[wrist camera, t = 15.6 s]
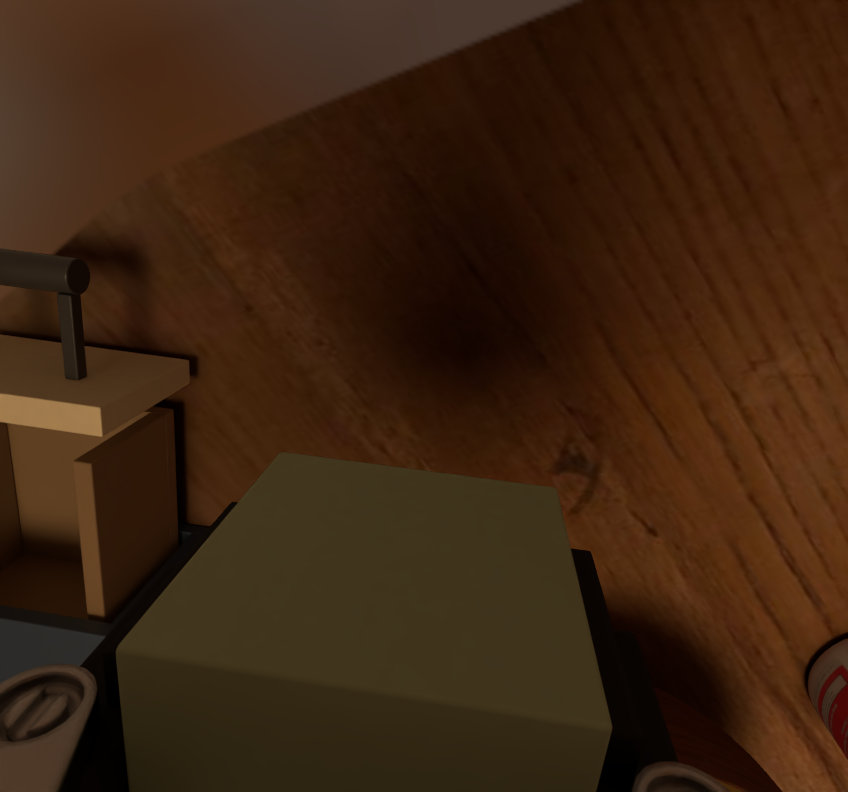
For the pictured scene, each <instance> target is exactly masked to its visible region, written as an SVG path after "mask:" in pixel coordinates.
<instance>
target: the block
mask: <svg viewBox="0 0 848 792" xmlns="http://www.w3.org/2000/svg"><path fill="white" fill-rule="evenodd" d="M116 662H117V672H118V682H119V693H120V703H121V713H122V724H123V734H124V745H125V755H126V765H127V776H128V786H129V792H596V790H597V786H598V782H599V778H600V774H601V771H602V767H603V763H604V759H605V755H606V751H607V747H608V743H609V739H610V735H611V732H612V724H611V719H610V715H609V711H608V706H607V702H606V698H605V694H604V689H603V685H602V681H601V676H600V672H599V668H598V664H597V659H596V655H595V651H594V646H593V642H592V638H591V634H590V629H589V625H588V621H587V616H586V612H585V608H584V604H583V599H582V595H581V591H580V586H579V582H578V578H577V574H576V569H575V565H574V561H573V556H572V552H571V548H570V544H569V539H568V535H567V531H566V526H565V522H564V518H563V514H562V509H561V505H560V501H559V496H558V492H557V489H556V488H553V487H546V486H538V485H530V484H523V483H515V482H507V481H500V480H492V479H485V478H477V477H469V476H462V475H454V474H446V473H439V472H431V471H423V470H416V469H408V468H401V467H393V466H385V465H378V464H370V463H362V462H355V461H347V460H340V459H332V458H324V457H317V456H309V455H301V454H294V453H286V452H281V453H279V454H278V455H277V457H276V458H275V459H274V460H273V461H272V463H271V464H270V465H269V466H268V467H267V469H266V470H265V471H264V472H263V473H262V475H261V476H260V477H259V478H258V479H257V480H256V482H255V483H254V484H253V485H252V486H251V488H250V489H249V490H248V491H247V492H246V494H245V495H244V496H243V497H242V498H241V500H240V501H239V502H238V503H237V504H236V506H235V507H234V508H233V509H232V510H231V511H230V513H229V514H228V515H227V516H226V517H225V519H224V520H223V521H222V522H221V523H220V525H219V526H218V527H217V528H216V529H215V531H214V532H213V533H212V534H211V535H210V537H209V538H208V539H207V540H206V541H205V542H204V544H203V545H202V546H201V547H200V548H199V550H198V551H197V552H196V553H195V554H194V556H193V557H192V558H191V559H190V560H189V562H188V563H187V564H186V565H185V566H184V567H183V569H182V570H181V571H180V572H179V573H178V575H177V576H176V577H175V578H174V579H173V581H172V582H171V583H170V584H169V585H168V587H167V588H166V589H165V590H164V591H163V593H162V594H161V595H160V596H159V597H158V598H157V600H156V601H155V602H154V603H153V604H152V606H151V607H150V608H149V609H148V610H147V612H146V613H145V614H144V615H143V616H142V618H141V619H140V620H139V621H138V622H137V624H136V625H135V626H134V627H133V628H132V629H131V631H130V632H129V633H128V634H127V635H126V637H125V638H124V639H123V640H122V641H121V643H120V644H119V645H118V647H117V649H116Z"/></svg>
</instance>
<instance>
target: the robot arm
mask: <svg viewBox="0 0 848 792" xmlns="http://www.w3.org/2000/svg"><path fill="white" fill-rule="evenodd" d="M237 503H238V502H232V503H231V504H230V505H229V506H228V507H227V508H226V509H225V510H224V511H223V513H222V514H221V515H220V516H219V517H218V518H217V520H216V521H215V522H214V523H213V524H212V525H211V527H210V528H209V529H208V530H207V531H206V532H205V533H204V535H203V536H202V537H201V538H200V539H199V540H198V542H197V543H196V544H195V545H194V546H193V547H192V549H191V550H190V551H189V552H188V553H187V554H186V556H185V557H184V558H183V559H182V560H181V561H180V562H179V564H178V565H171V566H169V567H168V568H167V569H166V570H165V571H163V573H162V574H161V575H160V576H159V577H158V578H157V579H156V581H155V582H154V583H153V584H152V585H151V586H150V587H149V588H148V590H147V591H146V592H145V593H144V594H143V595H142V596H141V598H140V599H139V600H138V601H137V602H136V603H135V604H134V605H133V607H132V608H131V609H130V610H129V611H128V612H127V613H126V614H125V616H124V617H123V618H122V619H121V620H120V621H119V622H118V624H117V625H116V626H115V627H114V628H113V629H112V630H111V631H110V633H109V634H108V635H107V636H106V637H105V638H104V639H103V640H102V642H101V643H100V644H99V645H98V646H97V647H96V648H95V650H94V651H93V652H92V653H91V654H90V655H89V656H88V657H87V659H86V660H85V661H84V662H83V663H82V664H81V665H80V666H77V665H74V664H59V663H57V664H51V665H44V666H39V667H36V668H33V669H30V670H27V671H24V672H21V673H19V674H17V675H15V676H13V677H11V678H9V679H8V680H6V681H4V682H2V683H1V684H0V792H129V786H128V776H127V765H126V755H125V745H124V734H123V724H122V713H121V703H120V693H119V682H118V672H117V662H116V649H117V647H118V645H119V644H120V643H121V641H122V640H123V639H124V638H125V637H126V635H127V634H128V633H129V632H130V631H131V629H132V628H133V627H134V626H135V625H136V624H137V622H138V621H139V620H140V619H141V618H142V616H143V615H144V614H145V613H146V612H147V610H148V609H149V608H150V607H151V606H152V604H153V603H154V602H155V601H156V600H157V598H158V597H159V596H160V595H161V594H162V593H163V591H164V590H165V589H166V588H167V587H168V585H169V584H170V583H171V582H172V581H173V579H174V578H175V577H176V576H177V575H178V573H179V572H180V571H181V570H182V569H183V567H184V566H185V565H186V564H187V563H188V562H189V560H190V559H191V558H192V557H193V556H194V554H195V553H196V552H197V551H198V550H199V548H200V547H201V546H202V545H203V544H204V542H205V541H206V540H207V539H208V538H209V537H210V535H211V534H212V533H213V532H214V531H215V529H216V528H217V527H218V526H219V525H220V523H221V522H222V521H223V520H224V519H225V517H226V516H227V515H228V514H229V513H230V511H231V510H232V509H233V508H234V507H235V506H236V504H237ZM571 552H572V556H573V561H574V565H575V569H576V574H577V578H578V582H579V586H580V591H581V595H582V599H583V604H584V608H585V612H586V616H587V621H588V625H589V629H590V634H591V638H592V642H593V646H594V651H595V655H596V659H597V664H598V668H599V672H600V676H601V681H602V685H603V689H604V694H605V698H606V702H607V706H608V711H609V715H610V719H611V724H612V732H611V735H610V739H609V743H608V747H607V751H606V755H605V759H604V763H603V767H602V771H601V774H600V778H599V782H598V786H597V790H596V792H730V791H729V790H728V789H727V788H726V787H725V786H723V785H722V784H721V783H719V782H718V781H717V780H716V779H714V778H713V777H712V776H710V775H708V774H706V773H704V772H702V771H700V770H698V769H697V768H695V767H693V766H689V765H685V764H682V763H679V762H678V759H677V756H676V753H675V750H674V747H673V744H672V741H671V738H670V735H669V732H668V729H667V726H666V723H665V720H664V717H663V714H662V711H661V708H660V705H659V702H658V699H657V696H656V693H655V690H654V687H653V684H652V681H651V678H650V675H649V672H648V669H647V666H646V663H645V660H644V657H643V655H642V652H641V649H640V646H639V643H638V640H637V638H636V636H635V634H634V633H632V632H630V631H624V630H617V629H613V627H612V624H611V620H610V617H609V613H608V610H607V606H606V603H605V599H604V596H603V592H602V589H601V585H600V582H599V578H598V575H597V571H596V568H595V564H594V561H593V558H592V554H591V552H590V551H586V550H578V549H571Z"/></svg>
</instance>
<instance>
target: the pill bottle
mask: <svg viewBox="0 0 848 792" xmlns="http://www.w3.org/2000/svg"><path fill="white" fill-rule="evenodd" d="M808 692H809V696H810V699H811V702H812V704H813V706H814V708H815V709H816V711H817V713H818V714H819V716H820V718H821V719H822V721H823V722H824V724H825V725H826V727H827V728H828V730H829V731H830V733H831V735H832V736H833V738H834V739H835V741H836V742H837V744H838V745H839V747H840V748H841V750H842V752H843V753H844V755H845V756H846V758H847V759H848V638H847V639H845V640H842V641H840V642H839V643H837V644H835V645H833V646H832V647H830V648H829V649H828V650H826V651H825V652H824V653H823V654H822V655H821V656H820V657H819V658H818V659H817V660H816V662H815V663H814V665H813V666H812V668H811V671H810V674H809V678H808Z"/></svg>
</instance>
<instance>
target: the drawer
mask: <svg viewBox="0 0 848 792" xmlns="http://www.w3.org/2000/svg"><path fill="white" fill-rule="evenodd" d="M89 282H90V272H89V268H88V266H87V264H86V263H85V262H84V261H83V260H81V259H79V258H72V257H64V256H56V255H48V254H39V253H32V252H24V251H16V250H7V249H0V285H5V286H13V287H20V288H28V289H36V290H43V291H51V292H59V293H58V294H57V302H58V312H59V322H60V332H61V342H62V343H59V342H51V341H44V340H37V339H29V338H22V337H15V336H7V335H0V605H5V606H11V607H17V608H23V609H29V610H35V611H41V612H47V613H53V614H59V615H65V616H70V617H76V618H82V619H88V620H94V621H100V622H106V623H112V622H113V621H114V620H115V619H116V617H117V616H118V615H119V614H120V613H121V612H122V611H123V610H124V609H125V607H126V606H127V605H128V604H129V603H130V602H131V601H132V600H133V598H134V597H135V596H136V595H137V594H138V593H139V592H140V591H141V590H142V588H143V587H144V586H145V585H146V584H147V583H148V582H149V581H150V580H151V578H152V577H153V576H154V575H155V574H156V573H157V572H158V571H159V569H160V568H161V567H162V566H163V565H164V564H165V563H166V562H167V561H168V559H169V558H170V557H171V556H172V555H173V554H174V553H175V552H176V550H177V549H178V548H179V543H178V516H177V488H176V461H175V434H174V410H173V409H168V408H161V407H154V405H155V404H157V403H159V402H160V401H162V400H163V399H165V398H167V397H168V396H170V395H172V394H173V393H175V392H177V391H178V390H180V389H182V388H183V387H185V386H186V385H188V384H189V383H190V373H189V360H184V359H177V358H169V357H162V356H155V355H147V354H140V353H132V352H125V351H118V350H110V349H103V348H96V347H88V346H85V345H84V333H83V322H82V310H81V298H80V294H82V293H84V292H85V291H86V289H87V288H88V285H89Z"/></svg>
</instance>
